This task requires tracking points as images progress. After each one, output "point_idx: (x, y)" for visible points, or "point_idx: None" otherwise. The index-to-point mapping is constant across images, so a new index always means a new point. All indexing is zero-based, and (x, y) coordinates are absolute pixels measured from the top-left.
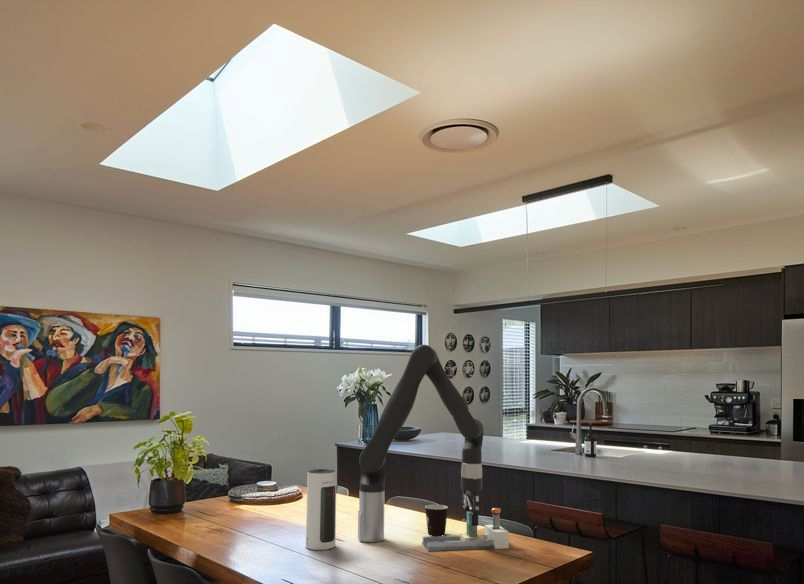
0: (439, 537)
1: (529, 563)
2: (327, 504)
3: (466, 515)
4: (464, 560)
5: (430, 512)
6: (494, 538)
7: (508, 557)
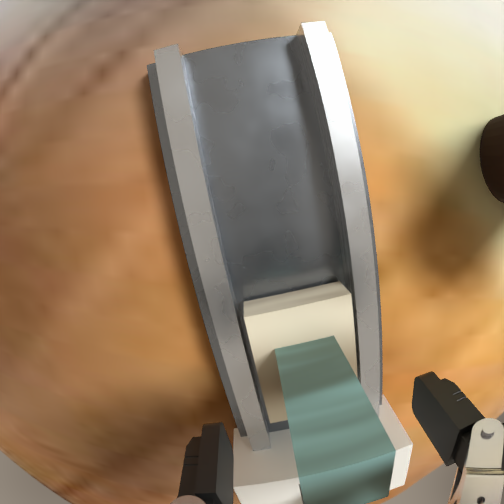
0: (329, 132)
1: (65, 467)
2: None
3: (432, 406)
4: (17, 266)
5: None
6: (240, 460)
7: (108, 442)
